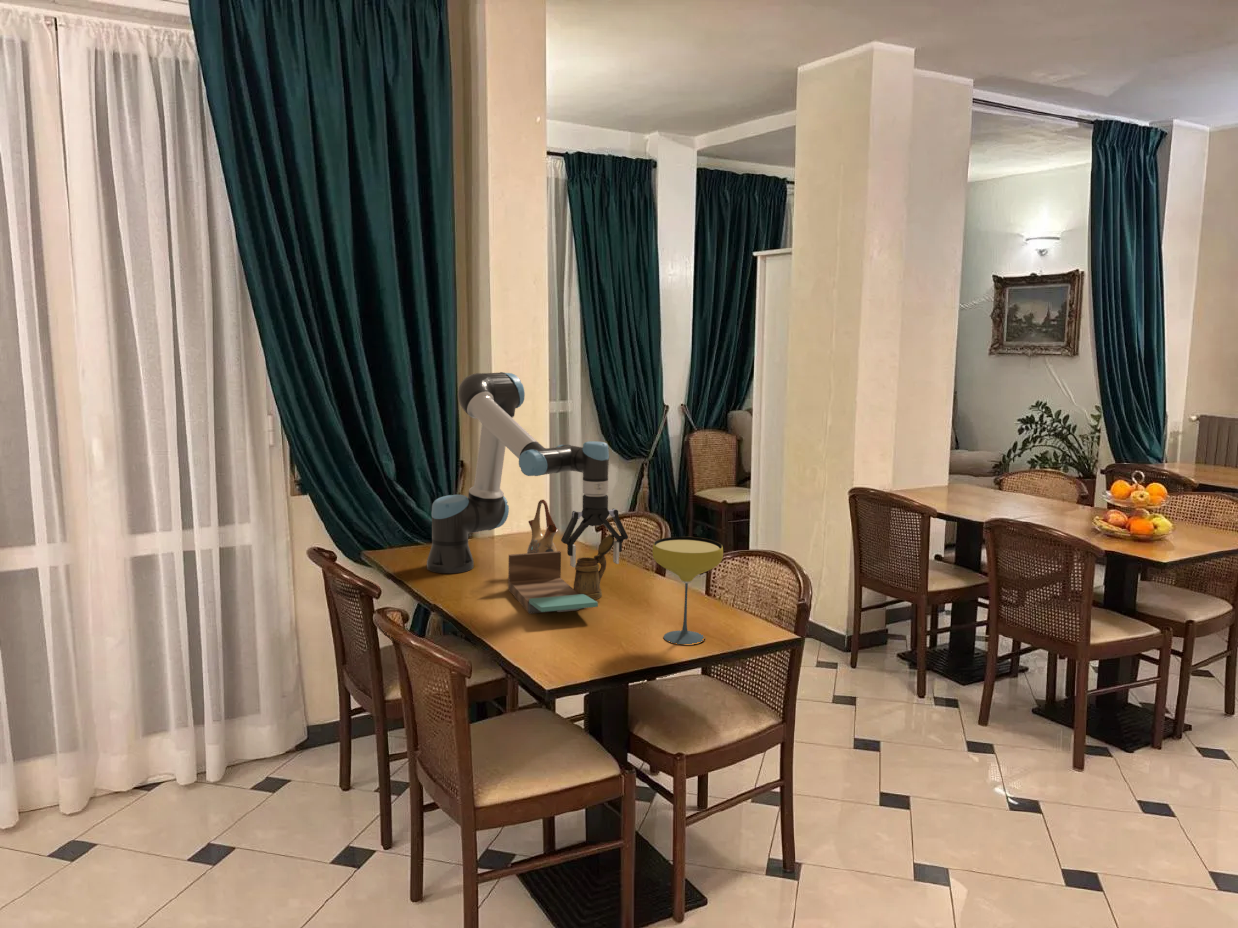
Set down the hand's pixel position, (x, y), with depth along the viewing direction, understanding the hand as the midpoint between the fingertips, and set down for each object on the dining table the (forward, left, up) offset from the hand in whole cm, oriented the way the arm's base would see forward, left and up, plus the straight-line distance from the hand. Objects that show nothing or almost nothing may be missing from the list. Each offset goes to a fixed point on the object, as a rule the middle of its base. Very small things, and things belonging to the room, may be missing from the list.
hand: (594, 564), depth 270 cm
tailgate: (+11, -15, -6) cm, 20 cm away
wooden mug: (0, 0, -10) cm, 10 cm away
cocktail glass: (+43, +10, -10) cm, 45 cm away
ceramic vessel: (-24, -9, -10) cm, 28 cm away
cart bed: (-1, -15, -9) cm, 18 cm away
